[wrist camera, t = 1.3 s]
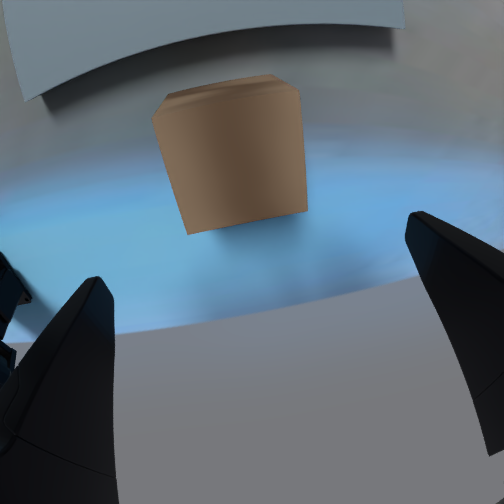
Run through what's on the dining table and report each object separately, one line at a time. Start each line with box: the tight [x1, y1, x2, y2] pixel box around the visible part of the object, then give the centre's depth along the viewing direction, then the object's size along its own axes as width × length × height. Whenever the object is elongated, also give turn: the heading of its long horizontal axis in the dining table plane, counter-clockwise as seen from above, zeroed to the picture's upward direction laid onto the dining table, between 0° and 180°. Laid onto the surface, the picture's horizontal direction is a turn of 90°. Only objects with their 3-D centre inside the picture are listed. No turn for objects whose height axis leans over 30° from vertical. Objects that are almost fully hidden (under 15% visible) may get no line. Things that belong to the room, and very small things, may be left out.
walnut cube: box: [151, 74, 308, 235], centre depth 15 cm, size 6×6×6 cm
